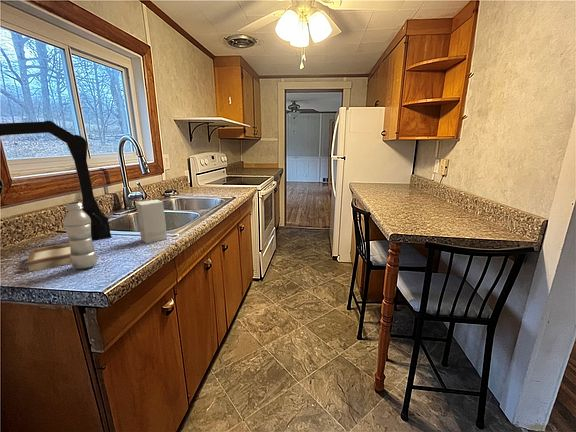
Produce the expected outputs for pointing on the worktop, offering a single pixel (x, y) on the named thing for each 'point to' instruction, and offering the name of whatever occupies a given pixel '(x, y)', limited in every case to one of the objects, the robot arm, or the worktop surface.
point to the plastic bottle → (79, 236)
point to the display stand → (49, 257)
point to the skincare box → (151, 221)
